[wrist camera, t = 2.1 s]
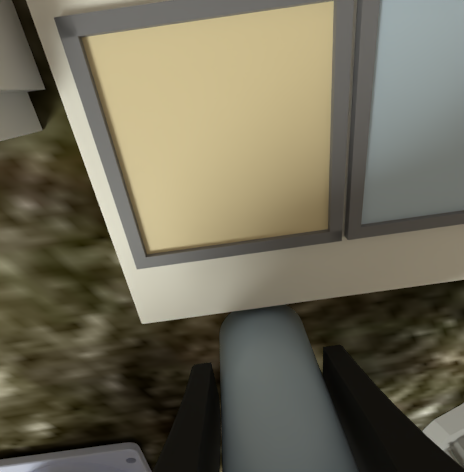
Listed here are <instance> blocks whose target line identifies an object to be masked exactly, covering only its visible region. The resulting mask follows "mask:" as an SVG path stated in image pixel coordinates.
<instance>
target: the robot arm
mask: <svg viewBox="0 0 464 472" xmlns="http://www.w3.org/2000/svg"><path fill="white" fill-rule="evenodd" d="M323 379H324V381H325V384H326V387H327V389H328V392H329V394H330V397H331V400H332V402H333V405H334V408H335V410H336V413H337V416H338V418H339V421H340V423H341V426H342V429H343V431H344V434H345V437H346V439H347V442H348V445H349V447H350V450H351V452H352V455H353V458H354V460H355V463H356V466H357V468H358V471H359V472H464V468H463V467H462V466H461V465H459V464H458V463H457V462H456V461H455V460H453V459H452V458H451V457H450V456H449V455H448V454H447V453H445V452H444V451H443V450H442V449H441V448H440V447H439V446H437V445H436V444H435V443H434V442H433V441H432V440H431V439H430V438H429V437H427V436H426V435H425V434H424V433H423V432H422V431H421V430H420V429H419V428H418V427H417V426H416V425H415V424H414V423H413V422H412V421H411V420H410V419H409V418H407V417H406V416H405V415H404V414H403V413H402V412H401V411H400V410H399V409H398V408H397V407H396V406H395V405H394V404H393V403H392V401H391V400H390V399H389V398H388V397H387V396H386V395H385V394H384V393H383V392H382V391H381V390H380V389H379V388H378V387H377V386H376V385H375V384H374V382H373V381H372V380H371V379H370V378H369V377H368V376H367V375H366V374H365V372H364V371H363V370H362V369H361V368H360V367H359V366H358V364H357V363H356V362H355V361H354V360H353V358H352V357H351V356H350V355H349V354H348V352H347V351H346V350H345V349H344V347H343V346H341V345H335V346H327V347H323ZM220 441H221V421H220V402H219V395H218V390H217V386H216V382H215V377H214V373H213V369H212V364H211V363H203V364H196V365H194V366H193V367H192V370H191V374H190V377H189V381H188V384H187V387H186V390H185V393H184V396H183V399H182V402H181V405H180V407H179V410H178V413H177V415H176V418H175V420H174V423H173V426H172V428H171V431H170V433H169V435H168V438H167V440H166V442H165V444H164V447H163V449H162V451H161V454H160V456H159V458H158V460H157V462H156V465H155V467H154V469H153V471H151V469H150V467H149V465H148V463H147V461H146V459H145V457H144V455H143V453H142V451H141V449H140V447H139V446H138V444H136V443H133V442H125V443H118V444H111V445H103V446H96V447H88V448H81V449H74V450H66V451H59V452H52V453H44V454H37V455H29V456H22V457H15V458H7V459H0V472H219V468H220Z"/></svg>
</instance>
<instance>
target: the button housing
mask: <svg viewBox="0 0 464 472" xmlns="http://www.w3.org/2000/svg"><path fill="white" fill-rule="evenodd" d="M44 89H45V87H44V84H43V82H42V79H41V76H40V74H39V71H38V68H37V66H36V63H35V60H34V58H33V55H32V52H31V50H30V47H29V44H28V42H27V39H26V36H25V34H24V31H23V28H22V26H21V23H20V20H19V18H18V15H17V12H16V10H15V7H14V4H13V2H12V0H0V141H3V140H7V139H11V138H15V137H19V136H23V135H27V134H31V133H34V132H38V131H42V127H41V125H40V122H39V120H38V117H37V115H36V112H35V110H34V107H33V105H32V102H31V100H30V97H29V95H28V92H30V91H37V90H44Z"/></svg>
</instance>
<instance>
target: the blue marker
mask: <svg viewBox="0 0 464 472" xmlns="http://www.w3.org/2000/svg"><path fill="white" fill-rule="evenodd" d="M219 344H220V385H221V427H222V468H223V472H359V471H358V468H357V466H356V463H355V460H354V458H353V455H352V452H351V450H350V447H349V445H348V442H347V439H346V437H345V434H344V431H343V429H342V426H341V423H340V421H339V418H338V416H337V413H336V410H335V408H334V405H333V402H332V400H331V397H330V394H329V392H328V389H327V387H326V384H325V381H324V379H323V376H322V373H321V371H320V368H319V365H318V363H317V360H316V358H315V355H314V352H313V350H312V347H311V344H310V342H309V339H308V336H307V334H306V331H305V328H304V326H303V323H302V321H301V319H300V317H299V315H298V314H297V313H296V312H295V311H294V310H293V309H292V308H290V307H289V306H287V305H285V304H284V305H277V306H270V307H262V308H255V309H248V310H241V311H233V312H231V313H230V314H229V315H228V316H227V317H226V318H225V320H224V321H223V323H222V325H221V328H220V333H219Z"/></svg>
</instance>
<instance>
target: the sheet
mask: <svg viewBox="0 0 464 472" xmlns="http://www.w3.org/2000/svg"><path fill="white" fill-rule="evenodd" d="M26 2H27V5H28V7H29V10H30V13H31V16H32V19H33V21H34V24H35V27H36V30H37V32H38V35H39V38H40V41H41V44H42V46H43V49H44V52H45V55H46V58H47V60H48V63H49V66H50V69H51V72H52V74H53V77H54V80H55V83H56V86H57V88H58V91H59V94H60V97H61V99H62V102H63V105H64V108H65V111H66V113H67V116H68V119H69V122H70V125H71V127H72V130H73V133H74V136H75V139H76V141H77V144H78V147H79V150H80V153H81V155H82V158H83V161H84V164H85V167H86V169H87V172H88V175H89V178H90V180H91V183H92V186H93V189H94V192H95V194H96V197H97V200H98V203H99V206H100V208H101V211H102V214H103V217H104V220H105V222H106V225H107V228H108V231H109V234H110V236H111V239H112V242H113V245H114V247H115V250H116V253H117V256H118V259H119V261H120V264H121V267H122V270H123V273H124V275H125V278H126V281H127V284H128V287H129V289H130V292H131V295H132V298H133V301H134V303H135V306H136V309H137V312H138V315H139V317H140V320H141V323H142V324H146V323H154V322H161V321H168V320H175V319H183V318H190V317H197V316H204V315H212V314H219V313H226V312H233V311H241V310H248V309H255V308H262V307H270V306H277V305H284V304H291V303H299V302H306V301H313V300H320V299H328V298H335V297H342V296H349V295H357V294H364V293H371V292H378V291H386V290H393V289H400V288H407V287H415V286H422V285H429V284H436V283H444V282H451V281H458V280H464V0H26Z"/></svg>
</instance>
